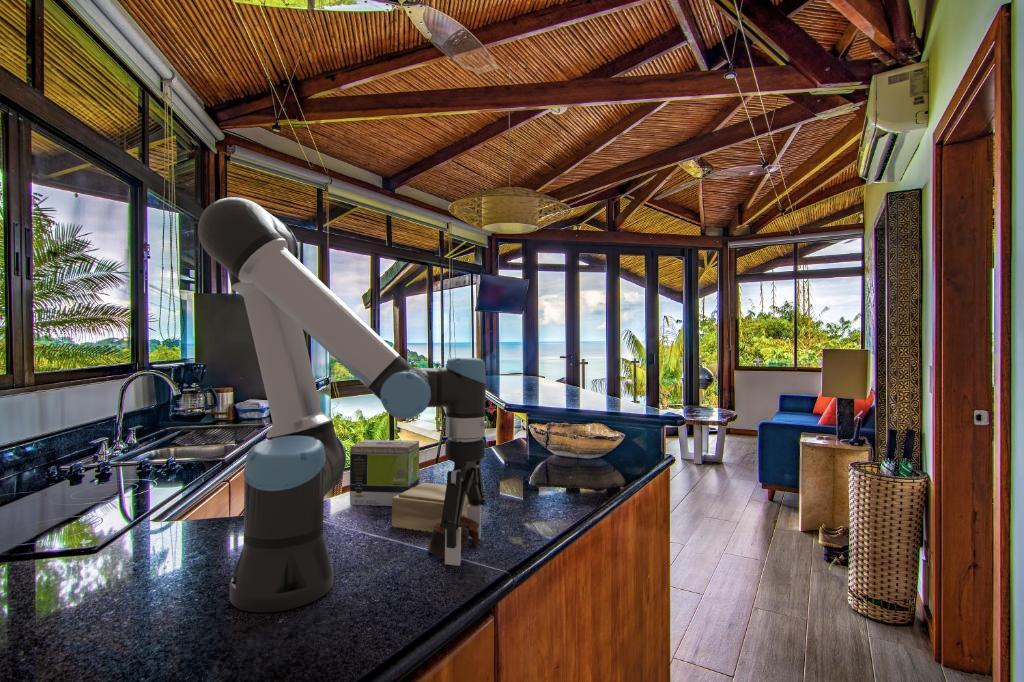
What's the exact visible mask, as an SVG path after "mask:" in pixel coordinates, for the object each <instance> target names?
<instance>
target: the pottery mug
mask: <svg viewBox="0 0 1024 682" xmlns="http://www.w3.org/2000/svg"><path fill="white" fill-rule="evenodd" d="M441 519H442V518H440V519H439V520H438V521H437V522H436V523H435V526H434V530H433V532H432V533H431V538H430V539H429V541H428V544H427V545H428V546H427V550H426V551H427V553H430V554H432V555H433V556H436V557H438V558H441V559H444V560H445V529H443V528H440V524H441ZM450 522H452V521H450ZM478 526H479V524H478V523H476V522H475V521H473V520H471V519H469V518H467V517H465V516H462V515H461V520H460V524H459V528H461V555H462V554H463V552H464V551H465V548H466V543H467V542H468V539H469V538H468V537H469V536H470V537H471V538H473V539H472V540H473V547H474V548H477V547H478V546H479V540H480V539H479V535H478V531H477V528H478Z"/></svg>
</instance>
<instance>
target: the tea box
mask: <svg viewBox="0 0 1024 682" xmlns="http://www.w3.org/2000/svg"><path fill="white" fill-rule="evenodd" d="M349 451H350V452H349V455H350V456H349V461H350V462H349V505H350V506H370V505H371V506H374V507H377V506H379V507H392V498H393V497H395V496H397V495H399V494H401V493H403V492H405V491H407V490H409V489H411V488H413V487H415V486H417V485H419V484H420V441H419V440H391V439H390V440H386V439H384V440H383V439H382V440H381V439H378V440H377V439H364V440H362V441H360V442H357V443H355V444H353V445H350V449H349Z"/></svg>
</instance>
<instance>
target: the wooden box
mask: <svg viewBox="0 0 1024 682" xmlns="http://www.w3.org/2000/svg"><path fill="white" fill-rule="evenodd" d="M446 486H447V484H439V483H431V482H421V483H419V485H417V486H415V487H413V488H411V489H409V490H407V491H405V492H403V493H401V494H399V495H397V496H395V497H393V498H392V506H391V527H392V526H393V527H392V528H398V527H399V529H405V528H406V529H405V530H412V529H413V530H414V531H419V530H421V531H420V532H426V531H429V532H428V533H433V530H434V526H435V523H436V522H437V521H438V520H439V519H440V518H442V513H443V506H444V500H445V493H446ZM468 505H471V504H469V501H468V498H467V494H466V495H465V500H464V505H463V510H462V516H465V517H467V506H468Z"/></svg>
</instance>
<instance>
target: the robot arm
mask: <svg viewBox="0 0 1024 682" xmlns="http://www.w3.org/2000/svg"><path fill="white" fill-rule="evenodd" d="M197 226H198V227H197V233H198V239H199V242H200V244H201V246H202V248H203V250H204V251H205V252H206V253H207V254H208V255H209V256H210V257H211V258H212V259H213V260H215V262H217V263H218V264H220V265H221V266H222V267H224V268H225V269H226V270H227V272H228V277H229V282H230V286H231V289H232V290H233V291H235V292H236V293H237V294H239V295H241V296H242V297H243V301H244V305H245V309H246V314H247V317H248V323H249V326H250V330H251V334H252V339H253V344H254V348H255V353H256V357H257V360H258V364H259V365H258V366H259V369H260V374H261V379H262V382H263V386H264V391H265V396H266V399H267V400H266V401H267V404H268V408H269V413H270V416H271V421H272V426H271V427H270V429H269V430H268V432H267V433H266V434H265V436H266V439H265V440H262V441H260V442H257V443H256V444H254V445H253V446H252V447H251V448H250V449H249V450H248V451H247V453H246V457H245V464H244V467H243V468H244V469H243V477H244V480H243V481H244V492H243V493H244V494H243V495H244V497H243V498H244V499H243V501H244V503H243V544H242V550H241V552H240V554H239V558H238V560H237V562H236V566H235V568H234V572H233V575H232V577H231V580H230V583H229V602H230V604H231V605H232V606H233V607H234V608H236V609H239V610H241V611H245V612H249V613H273V612H282V611H288V610H291V609H296V608H299V607H304V606H305V605H308V604H310V603H313V602H315V601H317V600H319V599H321V598H323V596H325V595H327V594H328V593H329V592H330V590H331V589H332V587H333V586H334V573H335V572H334V566H333V563H332V562H331V558H330V554H329V551H328V547H327V545H326V541H325V538H324V507H325V506H324V504H325V503H324V502H325V497H326V496H327V495H328V493H329V492H330V491H331V490H332V489H333V488H335V486H336V485H337V484H338V483H339V481H340V480H341V478H342V477H343V476H344V475H343V474H344V471H345V469H346V465H347V464H346V463H347V451H346V448H345V446H344V444H343V442H342V441H341V439H340V438H339V437H338V436H337V434H336V430H335V425H334V422H333V418H332V417H330V416H329V415H327V414H326V413H324V412H323V411H322V409H321V404H320V403H321V402H320V399H319V395H318V391H317V386H316V381H315V378H314V373H313V372H314V371H313V369H312V365H311V364H312V363H311V360H310V355H309V351H308V346H307V342H306V337H305V333H306V334H308V335H309V336H310V337H311V338H312V339H314V341H316V342H317V343H318V344H319V345H320V346H321V347H322V348H323V349H324V350H325V351H326V352H327V353H329V354H330V355H331V356H332V357H333V358H334V359H335V360H336V361H338V362H339V363H340V364H341V365H342V366H343V367H344V368H345V369H346V370H348V371H349V372H350V373H351V374H352V375H353V376H354V377H355V378H356V379H358V380H359V381H360V382H361V383H362V384H363V385H364V386H365V388H367V389H369V391H370V392H371V393H372V394H374V396H375V397H376V398H378V399H379V401H380V402H381V405H382V407H383V408H384V410H385V411H386V412H387V413H388V414H389V415H391V416H392V417H395V418H397V419H404V420H407V419H411V418H414V417H417V416H418V415H420V414H422V413H423V412H425V410H426V409H428V408H445V433H444V434H445V437H446V438H447V439H446V440H445V458H446V460H449V462H450V461H451V462H453V463H454V464H453V469H452V470H447V473H446V475H447V476H446V485H447V486H446V493H445V500H444V506H443V513H442V519H441V524H440V528H443V529H445V559H444V565H449V566H455V567H456V566H457V567H458V566H460V565H462V563H461V561H462V560H461V559H462V558H461V557H462V554H461V528H459V524H460V520H461V515H462V510H463V505H464V500H465V495H466V494H467V498H468V501H469V504H471V505H468V506H467V518H469V519H471V520H473V521H475V522H476V523H478V524H479V526H478V528H477V531H478V535H479V540H480V539H481V534H482V533H481V531H482V529H481V528H482V525H481V524H482V523H481V522H482V519H481V518H482V506H485V505H486V499H484V498H485V492H484V483H483V476H482V475H483V474H482V468H481V467H482V466H481V464H482V462H481V461H482V460H483V459H484V458H485V456H486V455H485V454H486V447H485V446H486V441H485V439H484V437H485V435H486V433H485V432H486V431H485V430H486V427H487V426H488V424H489V423H488V421H485V420H486V398H487V397H486V390H487V389H486V388H487V386H486V385H487V380H486V376H487V375H486V363H485V361H484V360H483V359H482V358H478V357H450V358H449V357H448V359H447V360H446V365H445V367H435V368H434V367H414V366H412V364H410V363H409V362H408V361H407V360H406V359H405V358H403V357H402V356H401V354H399V353H398V352H397V350H395V349H394V348H393V347H392V346H391V345H390V344H389V343H387V342H386V341H385V340H384V339H383V338H382V336H380V334H378V333H377V332H376V331H374V330H373V328H371V326H369V325H368V324H367V323H366V322H365V321H364V320H363V319H362V318H361V317H360V316H358V315H357V314H356V313H355V312H354V311H353V310H352V309H351V308H350V307H349V306H348V305H346V303H345V302H344V301H342V300H341V299H340V297H338V296H337V295H336V294H335V293H334V292H333V291H332V290H331V289H329V288H328V286H326V285H325V284H324V283H323V282H322V280H320V279H319V278H318V277H316V275H315V274H313V273H312V271H310V270H309V269H308V268H307V267H306V266H305V265H303V263H301V261H299V254H300V248H299V244H298V241H297V239H296V236H295V235H294V233H293V232H292V230H291V228H289V226H288V225H287V224H286V223H284V221H282V219H279V218H278V217H276V216H273V215H272V213H269V212H268V211H267V210H266V209H264V208H263V207H262V206H261V205H260V204H257V203H256V202H254V201H251V200H249V199H245V198H242V197H225V198H221V199H218V200H216V201H213V202H212V203H210V204H209V205H208V206H207V207H206V208H205V209H204V211H202V213H201V215H200V217H199V221H198V225H197ZM304 331H305V333H304ZM450 521H452V522H450ZM468 539H470V540H471V539H472V540H474V539H473V538H471V537H470V536H469V537H468Z"/></svg>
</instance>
